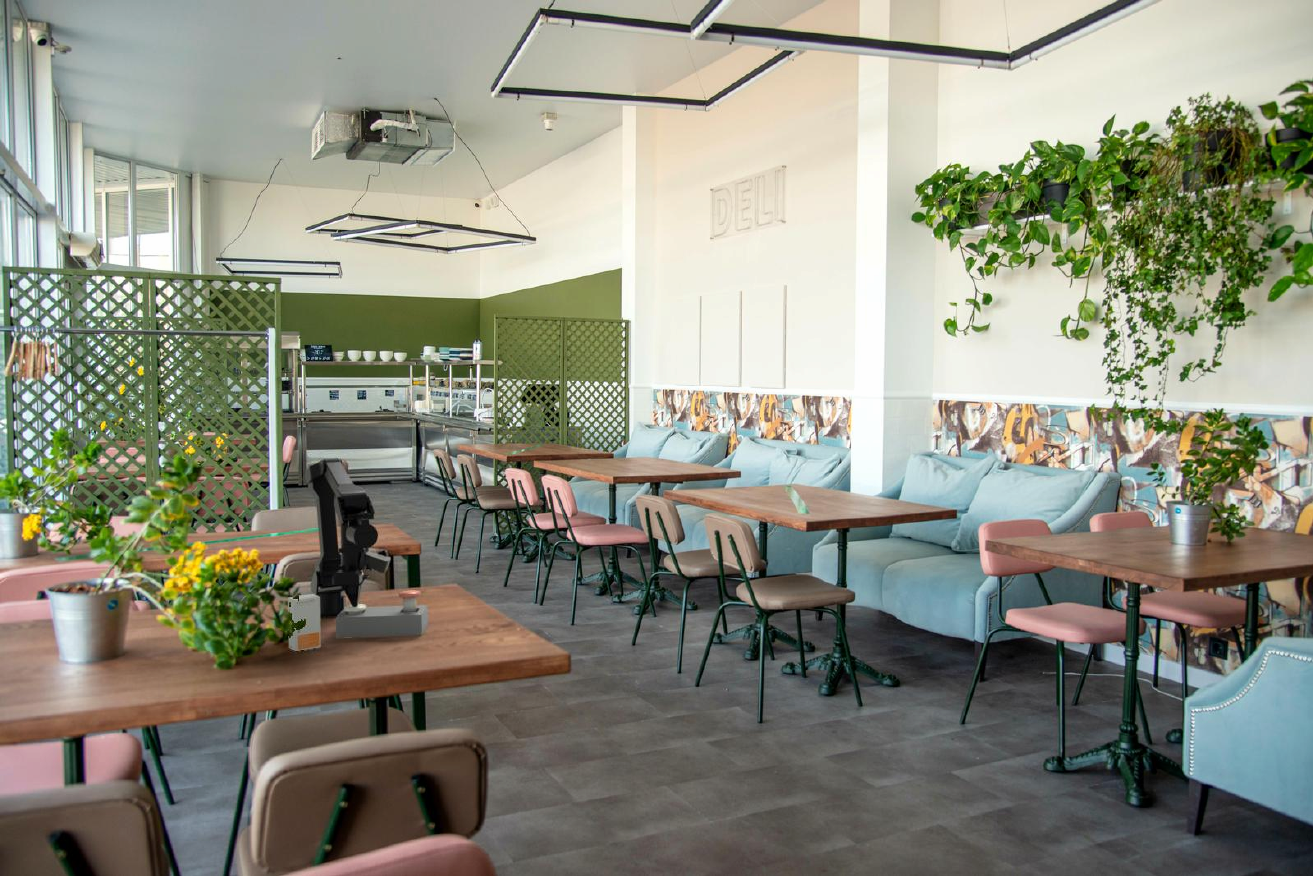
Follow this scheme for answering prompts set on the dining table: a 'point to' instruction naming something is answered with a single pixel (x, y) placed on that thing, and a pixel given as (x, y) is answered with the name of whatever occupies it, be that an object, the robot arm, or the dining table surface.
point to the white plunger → (355, 609)
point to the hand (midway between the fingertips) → (355, 606)
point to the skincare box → (311, 612)
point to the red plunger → (409, 600)
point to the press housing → (382, 622)
